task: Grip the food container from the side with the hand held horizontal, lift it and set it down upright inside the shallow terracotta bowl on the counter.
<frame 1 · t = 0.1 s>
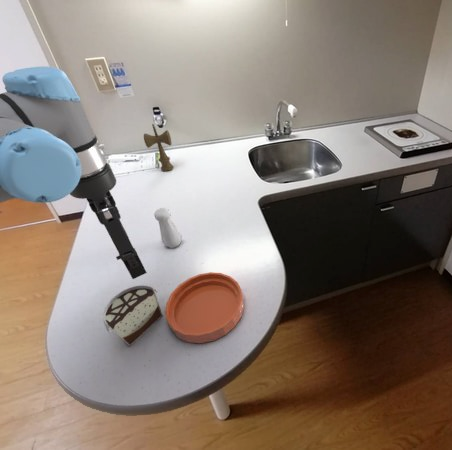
hand: (130, 256, 66), 19 cm above the worktop, tool pointing down, fingers open, 13 cm apart
food container: (139, 325, 74), on the worktop
salt shaker: (173, 244, 96), on the worktop
kendama: (167, 169, 132), on the worktop
bowl: (207, 310, 77), on the worktop
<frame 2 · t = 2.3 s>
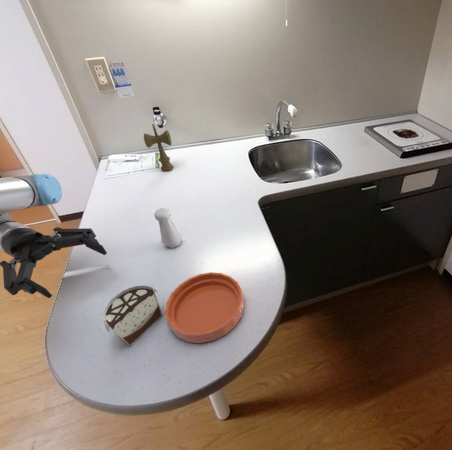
hand: (77, 270, 68), 15 cm above the worktop, tool horizontal, fingers open, 13 cm apart
nothing on the worktop moved.
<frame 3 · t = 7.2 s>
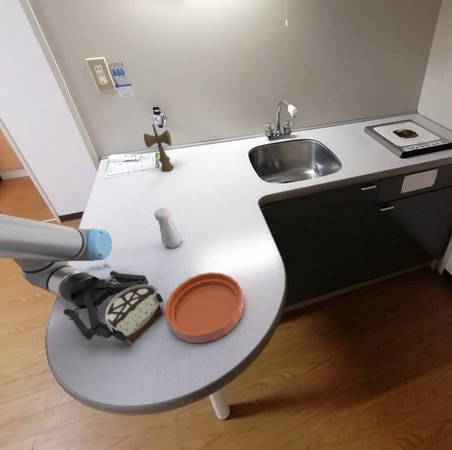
hand: (143, 316, 69), 6 cm above the worktop, tool horizontal, fingers closed on food container, 10 cm apart
food container: (140, 324, 75), on the worktop, touching gripper
everything else where it was.
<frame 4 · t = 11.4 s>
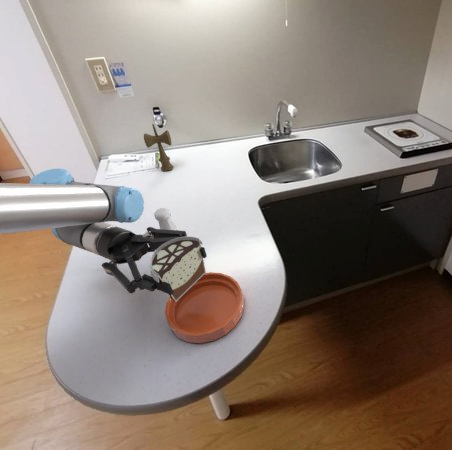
hand: (188, 270, 64), 18 cm above the worktop, tool horizontal, fingers closed on food container, 10 cm apart
food container: (181, 282, 69), point 12 cm above the worktop, touching gripper
everything else where it was.
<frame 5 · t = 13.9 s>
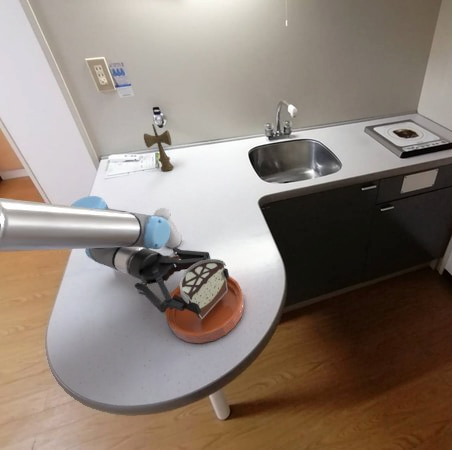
hand: (213, 290, 69), 10 cm above the worktop, tool horizontal, fingers closed on food container, 10 cm apart
food container: (205, 300, 75), point 4 cm above the worktop, touching gripper
everything else where it was.
when the fingers open (7 cm above the worktop, at t = 15.6 s): food container stays where it is, resting on bowl.
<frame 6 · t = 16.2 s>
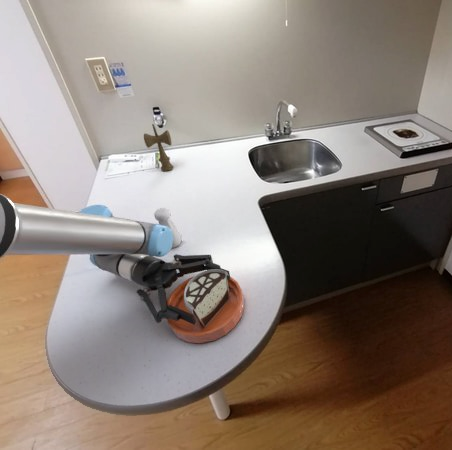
hand: (212, 296, 71), 8 cm above the worktop, tool horizontal, fingers open, 13 cm apart
food container: (208, 308, 77), resting on bowl
everything else where it was.
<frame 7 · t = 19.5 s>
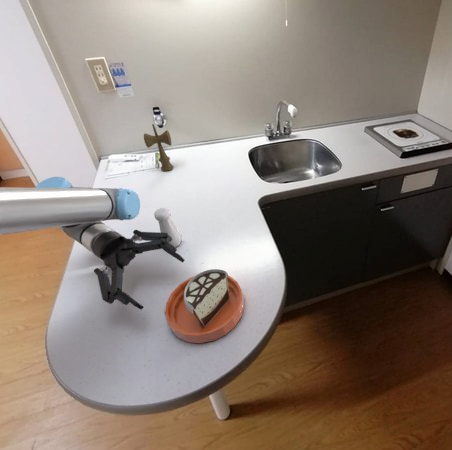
hand: (161, 282, 71), 10 cm above the worktop, tool horizontal, fingers open, 13 cm apart
nothing on the worktop moved.
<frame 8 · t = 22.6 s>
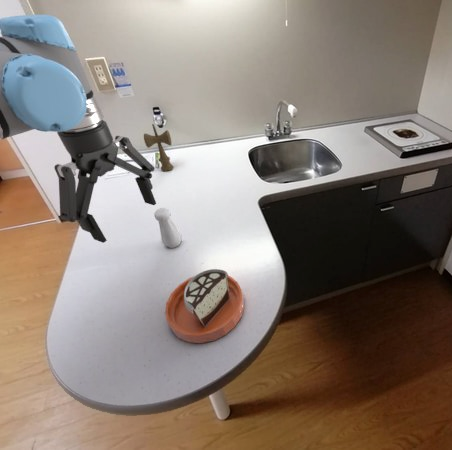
hand: (127, 220, 66), 25 cm above the worktop, tool pointing down, fingers open, 13 cm apart
nothing on the worktop moved.
at the end: food container inside the target area in the bowl (0.4 cm from its centre), point 0.4 cm above the bowl's base; food container tilted 0°; the gripper is holding nothing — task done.
